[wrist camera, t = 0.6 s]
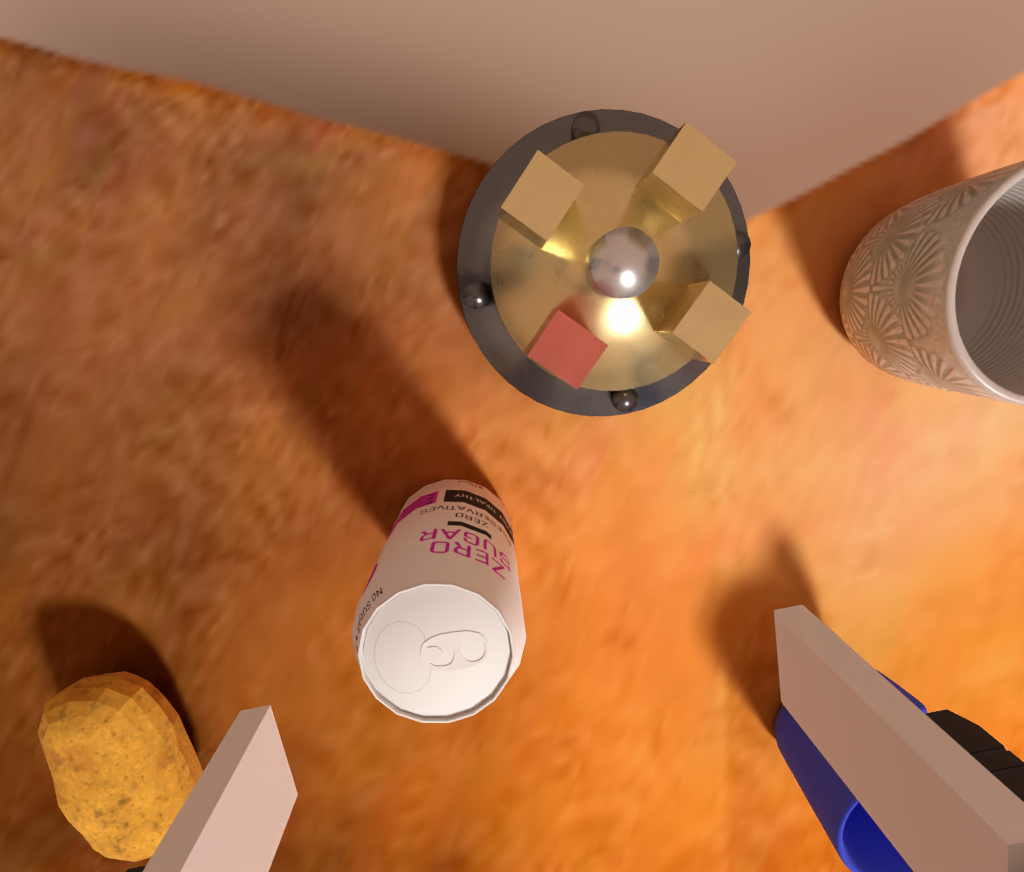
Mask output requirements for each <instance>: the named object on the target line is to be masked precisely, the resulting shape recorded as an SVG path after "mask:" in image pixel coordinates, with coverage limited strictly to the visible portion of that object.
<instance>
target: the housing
mask: <svg viewBox="0 0 1024 872" xmlns="http://www.w3.org/2000/svg"><path fill="white" fill-rule="evenodd" d="M678 130H679V129H678V128H676V127H674V126H672V125H670V124H668V123H666V122H664V121H662V120H660V119H657V118H654V117H651V116H648V115H645V114H642V113H636V112H630V111H624V110H604V109H601V110H593V111H584V112H579V113H575V114H572V115H568V116H564V117H561V118H558V119H556V120H554V121H551V122H549V123H547V124H544V125H542V126H540V127H539V128H537V129H535V130H534V131H532V132H530V133H529V134H527V135H525V136H524V137H523V138H522V139H520V140H519V141H518V142H517V143H515V144H514V145H513V146H512V147H510V148H509V149H508V150H507V151H506V152H505V153H504V154H503V156H501V157H500V158H499V160H498V161H497V162H496V163H495V164H494V165H493V166H492V168H491V169H490V171H489V172H488V173H487V175H486V176H485V177H484V179H483V180H482V182H481V184H480V186H479V187H478V189H477V191H476V193H475V195H474V197H473V198H472V201H471V203H470V206H469V208H468V211H467V214H466V216H465V219H464V223H463V227H462V231H461V235H460V240H459V248H458V257H457V279H458V286H459V294H460V300H461V304H462V307H463V311H464V315H465V318H466V321H467V323H468V326H469V328H470V331H471V333H472V335H473V337H474V339H475V341H476V343H477V344H478V346H479V348H480V350H481V351H482V353H483V354H484V356H485V357H486V358H487V360H488V361H489V362H490V364H491V365H492V366H493V368H494V369H495V370H496V371H497V372H498V373H499V374H500V375H501V376H502V377H503V378H504V379H505V380H506V381H507V382H509V383H510V384H511V385H512V386H514V387H515V388H516V389H518V390H519V391H520V392H521V393H523V394H525V395H527V396H528V397H530V398H532V399H533V400H535V401H537V402H539V403H541V404H544V405H546V406H548V407H551V408H553V409H556V410H560V411H564V412H567V413H571V414H578V415H585V416H613V415H621V414H627V413H631V412H635V411H639V410H643V409H645V408H648V407H650V406H653V405H655V404H658V403H660V402H662V401H664V400H666V399H668V398H669V397H671V396H673V395H675V394H677V393H678V392H680V391H681V390H682V389H684V388H685V387H686V386H688V385H689V384H690V383H692V382H693V381H694V380H695V379H696V378H697V377H698V376H699V375H700V374H702V373H703V372H704V371H705V370H706V369H707V368H708V366H709V365H710V364H711V363H709V362H704V361H699V360H694V359H692V360H690V361H689V362H688V363H687V364H685V365H684V366H683V367H681V368H680V369H679V370H677V371H676V372H674V373H672V374H670V375H669V376H667V377H665V378H663V379H661V380H659V381H656V382H654V383H651V384H649V385H645V386H641V387H637V388H634V389H627V390H619V391H601V390H594V389H587V388H583V387H579V388H578V389H576V388H574V387H573V386H571V385H570V384H568V383H567V382H565V381H563V380H560V379H558V378H556V377H555V376H553V375H551V374H549V373H548V372H546V371H544V370H543V369H542V368H541V367H539V366H538V365H537V364H536V363H534V362H533V361H532V360H531V359H530V358H528V357H527V356H526V354H525V353H524V352H523V351H522V350H521V349H520V348H519V347H518V346H517V345H516V343H515V342H514V341H513V339H512V338H511V336H510V335H509V333H508V332H507V330H506V328H505V326H504V324H503V323H502V320H501V318H500V315H499V313H498V310H497V308H496V304H495V300H494V296H493V292H492V285H491V253H492V245H493V238H494V234H495V231H496V227H497V223H498V220H499V217H500V210H501V206H502V205H503V203H504V202H505V200H506V199H507V197H508V195H509V194H510V192H511V191H512V189H513V188H514V186H515V185H516V183H517V182H518V180H519V178H520V177H521V175H522V174H523V172H524V171H525V169H526V168H527V166H528V164H529V163H530V161H531V160H532V158H533V157H534V155H535V154H536V152H537V150H539V151H540V152H542V153H543V154H544V155H545V156H546V155H547V154H549V153H550V152H552V151H554V150H555V149H557V148H559V147H560V146H562V145H564V144H566V143H568V142H571V141H573V140H576V139H578V138H581V137H584V136H588V135H592V134H596V133H604V132H612V131H617V132H634V133H640V134H645V135H649V136H652V137H655V138H658V139H661V140H664V141H667V140H668V139H669V138H670V137H671V136H672V135H673V134H674V133H676V132H677V131H678ZM719 190H720V191H721V193H722V195H723V197H724V199H725V201H726V203H727V206H728V208H729V210H730V213H731V217H732V220H733V223H734V227H735V233H736V239H737V250H738V265H737V276H736V281H735V286H734V291H733V295H732V298H733V299H735V300H736V301H737V302H739V303H740V304H741V305H742V306H743V303H744V299H745V295H746V290H747V286H748V278H749V267H750V251H749V250H750V247H751V242H750V238H749V237H748V232H747V226H746V221H745V218H744V215H743V212H742V208H741V204H740V202H739V200H738V198H737V196H736V193H735V191H734V188H733V186H732V185H731V183H730V181H729V180H728V178H727V177H726V179H725V180H724V182H723V183H722V185H721V186H720V187H719ZM658 269H659V253H658V250H657V247H656V245H655V243H654V241H653V240H652V239H651V238H650V236H649V235H647V234H646V233H645V232H643V231H642V230H640V229H637V228H634V227H619V228H616V229H613V230H611V231H609V232H608V233H606V234H605V235H603V236H602V237H600V238H599V239H598V240H597V241H596V242H595V243H594V244H593V245H592V246H591V247H590V249H589V251H588V253H587V255H586V259H585V275H586V279H587V281H588V283H589V285H590V286H591V288H592V289H593V290H594V291H595V292H596V293H597V294H599V295H600V296H602V297H604V298H607V299H612V300H618V299H626V298H632V297H635V296H637V295H640V294H641V293H643V292H644V291H646V290H647V289H648V288H649V287H650V286H651V284H652V283H653V281H654V280H655V278H656V276H657V273H658Z"/></svg>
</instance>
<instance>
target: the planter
mask: <svg viewBox="0 0 1024 872" xmlns="http://www.w3.org/2000/svg"><path fill="white" fill-rule="evenodd" d="M840 313H841V319H842V322H843V326H844V329H845V331H846V334H847V336H848V338H849V340H850V341H851V343H852V344H853V346H854V347H855V349H856V350H857V351H858V352H859V353H860V354H861V355H862V356H863V357H864V358H865V359H866V360H867V361H868V362H870V363H871V364H873V365H874V366H876V367H877V368H879V369H881V370H883V371H884V372H886V373H888V374H891V375H893V376H896V377H899V378H902V379H904V380H907V381H911V382H914V383H918V384H922V385H926V386H930V387H934V388H939V389H943V390H947V391H952V392H957V393H962V394H967V395H972V396H977V397H982V398H987V399H992V400H998V401H1003V402H1008V403H1013V404H1018V405H1022V406H1024V161H1021V162H1018V163H1015V164H1012V165H1009V166H1006V167H1003V168H1000V169H997V170H994V171H991V172H988V173H985V174H982V175H979V176H976V177H973V178H970V179H967V180H964V181H961V182H958V183H956V184H953V185H950V186H947V187H945V188H942V189H939V190H937V191H934V192H932V193H930V194H927V195H925V196H923V197H920V198H918V199H916V200H914V201H912V202H909V203H907V204H906V205H904V206H902V207H900V208H898V209H897V210H895V211H894V212H892V213H891V214H889V215H888V216H886V217H885V218H884V219H882V220H881V221H880V222H879V223H878V224H876V225H875V226H874V227H873V228H872V229H871V230H870V231H869V232H868V233H867V234H866V236H865V237H864V238H863V239H862V241H861V242H860V243H859V244H858V246H857V247H856V249H855V250H854V252H853V254H852V256H851V258H850V260H849V262H848V264H847V266H846V269H845V272H844V275H843V279H842V283H841V290H840Z"/></svg>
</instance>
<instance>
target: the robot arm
mask: <svg viewBox="0 0 1024 872" xmlns="http://www.w3.org/2000/svg"><path fill="white" fill-rule="evenodd" d="M774 619H775V631H776V644H777V656H778V668H779V681H780V693H781V702H782V704H783V705H784V706H785V707H786V709H787V710H788V711H789V713H790V714H791V715H792V716H793V718H794V719H795V720H796V722H797V723H798V724H799V725H800V727H801V728H802V729H803V731H804V732H805V733H806V734H807V736H808V737H809V738H810V739H811V741H812V742H813V743H814V745H815V746H816V747H817V748H818V750H819V751H820V752H821V754H822V755H823V756H824V757H825V759H826V760H827V761H828V763H829V764H830V765H831V766H832V768H833V769H834V770H835V772H836V773H837V774H838V775H839V777H840V778H841V779H842V781H843V782H844V783H845V784H846V786H847V787H848V788H849V790H850V791H851V792H852V793H853V795H854V796H855V797H856V798H857V800H858V801H859V802H860V804H861V805H862V806H863V807H864V809H865V810H866V811H867V813H868V814H869V815H870V816H871V818H872V819H873V820H874V822H875V823H876V824H877V825H878V827H879V828H880V829H881V831H882V832H883V833H884V834H885V836H886V837H887V838H888V840H889V841H890V842H891V843H892V845H893V846H894V847H895V849H896V850H897V851H898V852H899V854H900V855H901V856H902V857H903V859H904V860H905V861H906V863H907V864H908V865H909V866H910V868H911V869H912V870H913V872H1024V762H1023V761H1021V760H1020V759H1019V758H1018V757H1016V756H1015V755H1014V754H1013V753H1012V752H1010V751H1006V750H1005V748H1004V746H1003V745H1002V744H1001V743H999V742H998V741H997V740H996V739H995V738H993V737H992V736H991V735H990V734H988V733H987V732H986V731H985V730H984V729H982V728H981V727H980V726H979V725H977V724H975V723H973V722H971V721H969V720H967V719H965V718H963V717H961V716H959V715H957V714H955V713H953V712H951V711H949V710H941V711H936V712H931V713H926V714H924V713H923V712H922V711H921V710H920V709H919V708H918V707H917V706H915V705H914V704H913V703H912V702H911V701H910V700H909V699H908V698H907V697H905V696H904V695H903V694H902V693H901V692H900V691H899V690H898V689H896V688H895V687H894V686H893V685H892V684H891V683H890V682H889V681H888V680H886V679H885V678H884V677H883V676H882V675H881V674H880V673H879V672H877V671H876V670H875V669H874V668H873V667H872V666H871V665H870V664H869V663H867V662H866V661H865V660H864V659H863V658H862V657H861V656H860V655H858V654H857V653H856V652H855V651H854V650H853V649H852V648H851V647H850V646H848V645H847V644H846V643H845V642H844V641H843V640H842V639H841V638H839V637H838V636H837V635H836V634H835V633H834V632H833V631H832V630H831V629H829V628H828V627H827V626H826V625H825V624H824V623H823V622H822V621H820V620H819V619H818V618H817V617H816V616H815V615H814V614H813V613H812V612H810V611H809V610H808V609H807V608H806V607H805V606H804V605H798V606H792V607H787V608H782V609H777V610H774ZM297 795H298V794H297V791H296V787H295V784H294V781H293V777H292V774H291V771H290V768H289V764H288V761H287V758H286V755H285V751H284V748H283V745H282V741H281V738H280V735H279V732H278V728H277V725H276V722H275V719H274V715H273V712H272V709H271V705H268V706H263V707H258V708H252V709H247V710H242V711H240V712H239V714H238V716H237V717H236V719H235V721H234V722H233V724H232V726H231V727H230V729H229V731H228V732H227V734H226V735H225V737H224V739H223V740H222V742H221V744H220V745H219V747H218V749H217V750H216V752H215V754H214V755H213V757H212V758H211V760H210V762H209V763H208V765H207V767H206V768H205V770H204V772H203V773H202V775H201V777H200V778H199V780H198V781H197V783H196V785H195V786H194V788H193V790H192V791H191V793H190V795H189V796H188V798H187V800H186V801H185V803H184V804H183V806H182V808H181V809H180V811H179V813H178V814H177V816H176V818H175V819H174V821H173V823H172V824H171V826H170V827H169V829H168V831H167V832H166V834H165V836H164V837H163V839H162V841H161V842H160V844H159V846H158V847H157V849H156V850H155V852H154V854H153V855H152V857H151V859H150V860H149V862H148V864H147V865H146V866H142V867H137V868H132V869H128V870H127V871H126V872H268V871H269V869H270V866H271V863H272V861H273V858H274V855H275V853H276V850H277V848H278V845H279V842H280V840H281V837H282V835H283V832H284V829H285V827H286V824H287V821H288V819H289V816H290V814H291V811H292V808H293V806H294V803H295V800H296V798H297Z"/></svg>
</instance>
